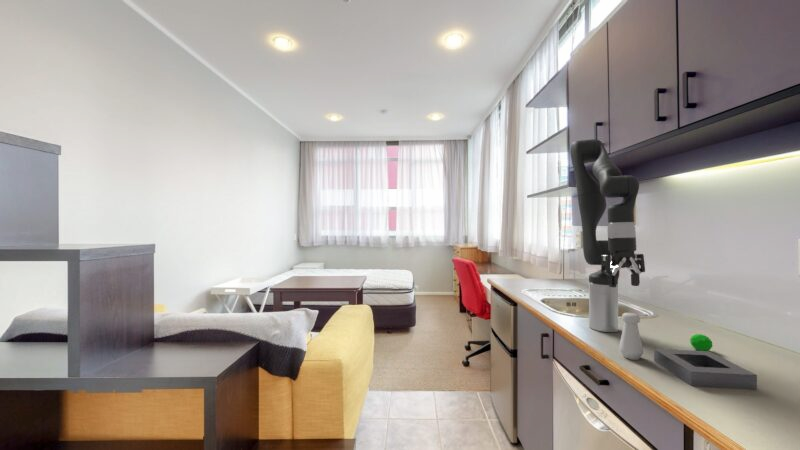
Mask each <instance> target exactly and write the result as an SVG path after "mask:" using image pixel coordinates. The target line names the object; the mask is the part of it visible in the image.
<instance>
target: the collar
mask: <svg viewBox="0 0 800 450" xmlns="http://www.w3.org/2000/svg"><path fill="white" fill-rule="evenodd" d="M653 360H654V362H655V363H657V364H658V365H659V366H661V367H662V368H664V369H665V370H667V371H669V372H670V373H671V374H673V375H674V376H675V377H677V378H679V379H680V380H682V381H683V382H684V383H686V384H687V385H689V386H690V387H691V386H692V387H708V388H726V389H741V390H743V389H744V390H756V391H757V390H758V375H757V374H756V373H753V372H752V371H750V370H748V369H746V368H743V367H742V366H739V365H738V364H735V363H734V362H731V361H730V360H727V359H725V358H723V357H722V356H719V355H717V354H715V353H714V352H711V351H710V350H709V351H699V350H689V349H687V350H686V349H666V348H664V349H662V348H653Z"/></svg>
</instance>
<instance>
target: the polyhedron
mask: <svg viewBox="0 0 800 450" xmlns="http://www.w3.org/2000/svg"><path fill="white" fill-rule="evenodd" d="M689 341H690V345H691V346H692V348H694V349H695V350H696V351H710V350H711V349H712V348H713V342H712V340H711V338H709V337H708V336H706V335H705V334H701V333H697V334H694V335H692V336H691V338H690V340H689Z"/></svg>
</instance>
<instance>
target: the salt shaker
mask: <svg viewBox="0 0 800 450" xmlns="http://www.w3.org/2000/svg"><path fill="white" fill-rule="evenodd" d="M621 318H622V321H623V323H624V324H623V327H622V331H621V336H620V341H619V350H620V352H621V355H622V356H623V358H625V359H629V360H631V361H640V359H641V357H642V356H643V354H644V348H643V343H642V338H641V334H640V331H639V324H640V322H641V317H640V316H639V314H638V313H635V312H623V313H622V315H621Z"/></svg>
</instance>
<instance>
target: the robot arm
mask: <svg viewBox="0 0 800 450" xmlns="http://www.w3.org/2000/svg"><path fill="white" fill-rule="evenodd" d="M570 144H571V145H570V149H569V150H570V151H569V154H570V160H571V164H572V169H573V173H574V178H575V184H576V192H577V201H578V202H577V204H578V207H579V208H578V209H579V214H580V221H581V230H582V250H583V251H582V252H583V258H584V259H585V262H586V263H587V264H588V265H591V266H600V267H601V268H600V269H599V270H598V271H595V272H592V273H590V274H589V275H588V298H589V299H588V309H589V310H588V313H589V314H588V317H589V318H588V325H589V326H588V327H589V328H590V329H593V331H599V332H605V333H616V332H618V331H619V279H620V273H621V272H620V271H621V269H625V268H626V269H627V270H629V272H630V284H631V286H633V287H639V286H640V283H641V281H640V274H642V273H645V272H646V266H645V265H646V263H645V255H644V254H643V253H635V252H636V251H637V236H636V235H637V233H636V227H635V215H634V213H635V212H634V211H635V205H636V199H637V197H638V193H639V189H640V182H639V180H638V178H637V177H636V176H634V175H622V171H621V169H620V168H619V167H618V166H617V165H616V164H615V163H614V162H613V161H612V160H611V158H610V156H609V154H608V151H607V149H606V147H605V145H604V143H603V142H602V141H601V140H599V139H598V138H596V139H595V138H591V139H590V138H589V139H581V140H574V141H572V143H570ZM593 162H594V164H593V165H592V174H593V175H594V177H595V178H594V177H593V176H592V175H591V174H590V173H589V170H588V169H587V168H586V165H585V164H586V163H587V164H588V163H593ZM606 198H622V201H621V202H620V203H618V204H617V203H616V204H612V205H610V206H609V207H608V208H607V199H606ZM606 209H607V239H606V240H597V228H598V227H597V226H598V224H599V222H600V221H601V219H602V217H603V216H604V213H605V211H606Z"/></svg>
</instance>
